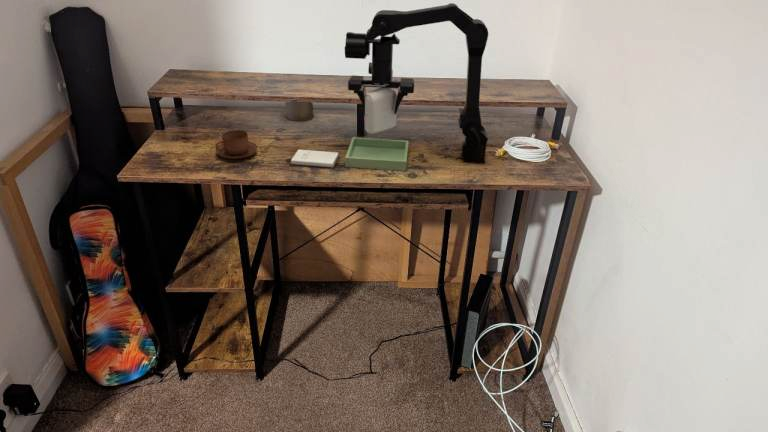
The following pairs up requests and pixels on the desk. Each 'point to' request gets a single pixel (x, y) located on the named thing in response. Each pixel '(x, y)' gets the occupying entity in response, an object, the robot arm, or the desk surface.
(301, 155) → the hard drive
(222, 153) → the cup and saucer
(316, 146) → the desk surface
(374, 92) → the white rounded tower
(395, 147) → the tray
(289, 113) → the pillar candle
